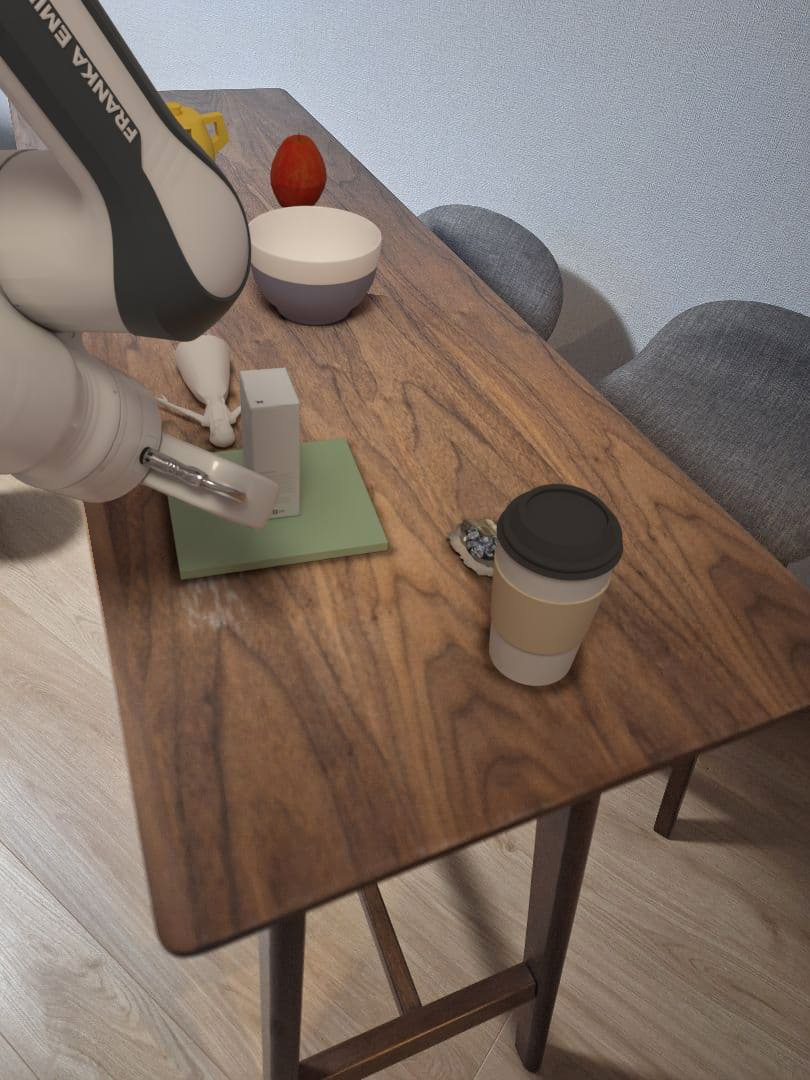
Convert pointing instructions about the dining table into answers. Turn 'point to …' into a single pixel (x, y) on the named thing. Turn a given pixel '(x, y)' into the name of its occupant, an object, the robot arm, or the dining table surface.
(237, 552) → the mat
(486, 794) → the dining table surface
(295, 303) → the bowl
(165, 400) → the woman figurine
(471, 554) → the blueberries
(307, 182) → the apple
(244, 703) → the dining table surface
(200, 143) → the teapot
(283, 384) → the cosmetic box
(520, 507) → the coffee cup
